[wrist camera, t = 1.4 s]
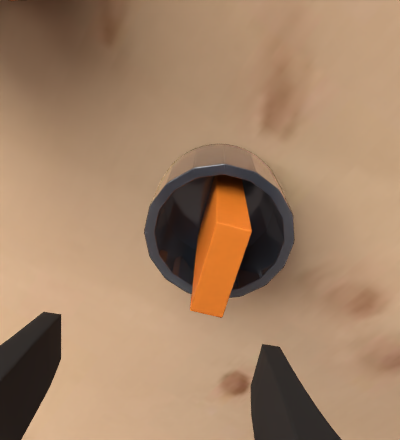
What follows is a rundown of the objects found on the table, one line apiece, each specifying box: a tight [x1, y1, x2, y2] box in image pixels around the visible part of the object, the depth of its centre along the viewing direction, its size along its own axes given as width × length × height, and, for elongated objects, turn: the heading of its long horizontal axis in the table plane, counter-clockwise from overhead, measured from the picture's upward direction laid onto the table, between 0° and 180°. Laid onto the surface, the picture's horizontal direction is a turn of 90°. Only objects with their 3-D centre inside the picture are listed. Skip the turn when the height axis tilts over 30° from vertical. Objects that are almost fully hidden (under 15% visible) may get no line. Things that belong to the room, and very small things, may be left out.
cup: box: [144, 144, 294, 298], centre depth 20 cm, size 7×7×4 cm
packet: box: [190, 175, 252, 318], centre depth 18 cm, size 1×4×7 cm, turn 166°
